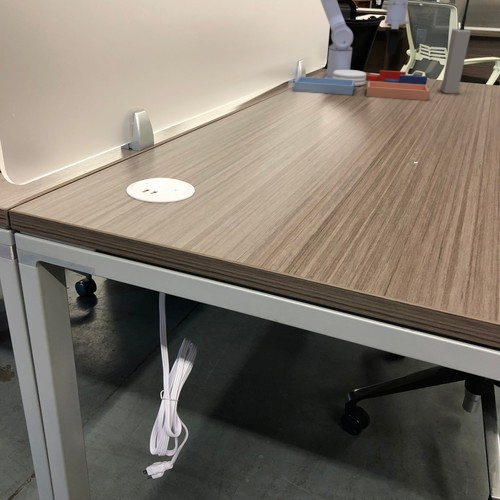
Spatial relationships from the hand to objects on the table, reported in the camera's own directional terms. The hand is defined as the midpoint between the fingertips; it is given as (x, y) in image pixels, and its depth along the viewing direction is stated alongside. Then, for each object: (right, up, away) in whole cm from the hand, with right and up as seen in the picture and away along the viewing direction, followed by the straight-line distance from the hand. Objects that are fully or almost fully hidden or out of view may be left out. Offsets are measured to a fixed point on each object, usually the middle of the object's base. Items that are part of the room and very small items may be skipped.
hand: (390, 52), depth 158 cm
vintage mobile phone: (+14, -16, -11) cm, 24 cm away
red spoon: (-1, -7, +4) cm, 8 cm away
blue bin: (-23, -16, -13) cm, 31 cm away
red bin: (-3, -18, -17) cm, 25 cm away
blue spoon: (+4, -11, -3) cm, 12 cm away
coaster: (-14, -11, -3) cm, 18 cm away
